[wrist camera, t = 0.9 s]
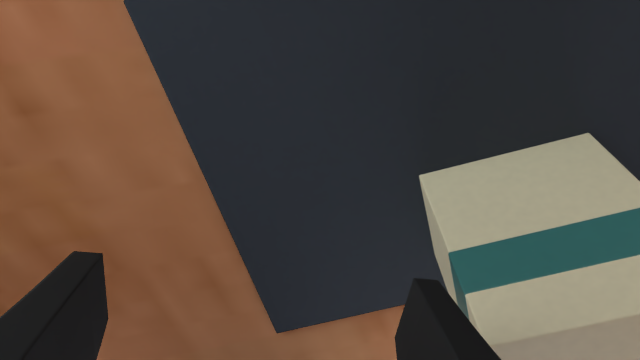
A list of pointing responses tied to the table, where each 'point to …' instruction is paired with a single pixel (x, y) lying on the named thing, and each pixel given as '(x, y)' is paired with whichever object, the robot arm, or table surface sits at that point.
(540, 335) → the tea box
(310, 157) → the mat
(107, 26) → the table surface
